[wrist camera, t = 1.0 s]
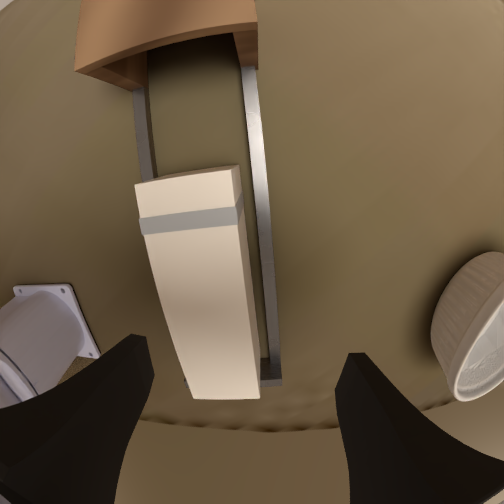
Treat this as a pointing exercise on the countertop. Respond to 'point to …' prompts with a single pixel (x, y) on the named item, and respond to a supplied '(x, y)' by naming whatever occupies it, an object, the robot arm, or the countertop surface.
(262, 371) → the guide channel
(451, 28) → the countertop surface
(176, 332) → the banded cream case
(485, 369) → the ramekin
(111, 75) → the socket block
